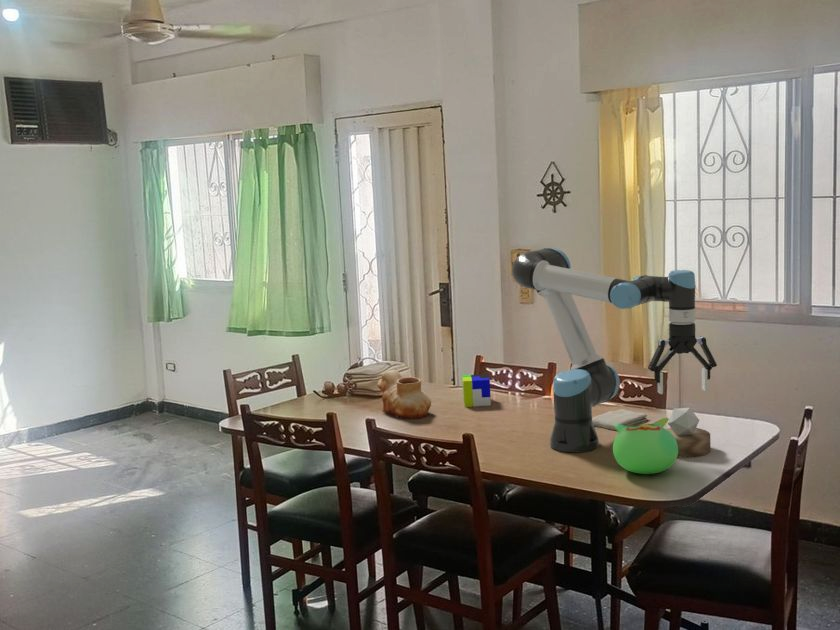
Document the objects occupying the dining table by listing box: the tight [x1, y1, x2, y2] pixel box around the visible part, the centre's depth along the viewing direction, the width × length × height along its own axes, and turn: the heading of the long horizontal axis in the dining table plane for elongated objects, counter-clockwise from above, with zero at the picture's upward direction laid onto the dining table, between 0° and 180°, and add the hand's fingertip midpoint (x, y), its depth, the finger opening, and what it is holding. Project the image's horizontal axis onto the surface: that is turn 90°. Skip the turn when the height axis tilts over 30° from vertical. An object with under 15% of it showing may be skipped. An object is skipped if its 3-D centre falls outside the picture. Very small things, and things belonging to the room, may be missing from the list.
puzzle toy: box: [461, 373, 492, 408], centre depth 349 cm, size 10×10×10 cm
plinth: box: [665, 427, 712, 459], centre depth 277 cm, size 15×15×5 cm
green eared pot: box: [612, 417, 678, 475], centre depth 259 cm, size 18×17×15 cm
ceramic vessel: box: [376, 369, 432, 419], centre depth 342 cm, size 14×26×15 cm, turn 34°
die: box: [667, 407, 700, 436], centre depth 276 cm, size 8×9×10 cm
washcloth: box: [592, 408, 648, 431], centre depth 311 cm, size 12×18×3 cm, turn 131°
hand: (682, 391), depth 275 cm, fingers open, 13 cm apart
